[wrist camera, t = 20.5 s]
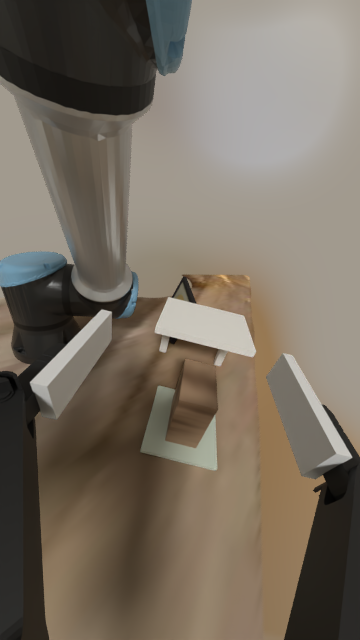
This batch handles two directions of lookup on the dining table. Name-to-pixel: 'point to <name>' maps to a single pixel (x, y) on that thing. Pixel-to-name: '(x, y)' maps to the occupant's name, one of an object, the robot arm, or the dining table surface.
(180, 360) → the dining table surface
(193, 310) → the small white table
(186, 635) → the dining table surface
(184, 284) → the picture frame
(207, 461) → the mat
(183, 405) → the walnut block
